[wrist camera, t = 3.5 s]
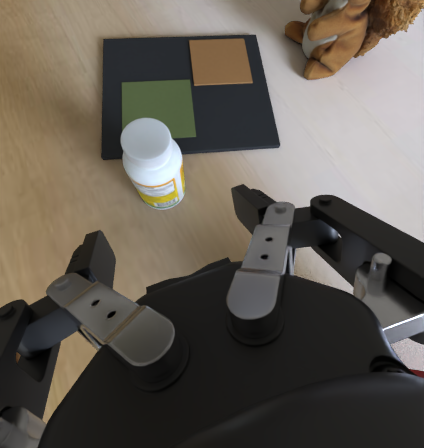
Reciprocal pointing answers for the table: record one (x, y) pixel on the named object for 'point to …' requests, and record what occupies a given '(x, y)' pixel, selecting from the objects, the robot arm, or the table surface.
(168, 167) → the supplement bottle
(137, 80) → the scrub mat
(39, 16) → the table surface
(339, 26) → the stuffed squirrel
